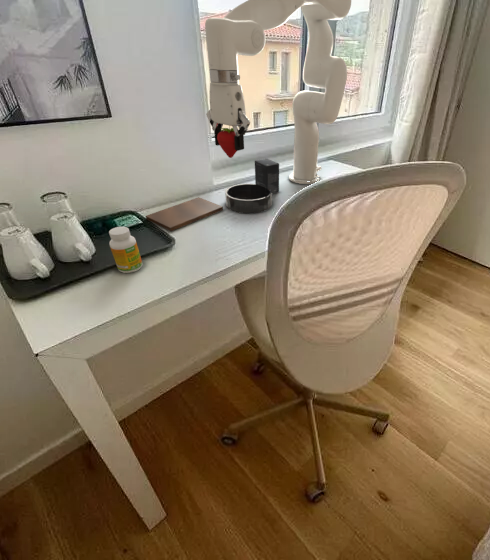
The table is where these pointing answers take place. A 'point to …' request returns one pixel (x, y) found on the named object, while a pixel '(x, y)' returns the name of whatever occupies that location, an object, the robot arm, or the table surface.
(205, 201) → the cutting board
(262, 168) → the box
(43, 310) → the table surface
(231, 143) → the strawberry
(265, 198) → the pan
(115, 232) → the supplement bottle
